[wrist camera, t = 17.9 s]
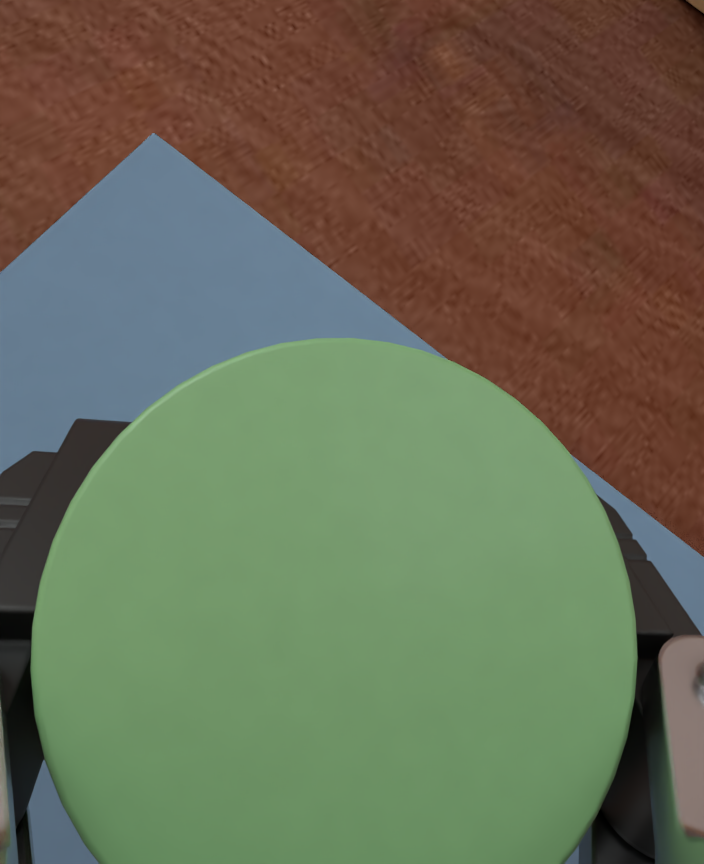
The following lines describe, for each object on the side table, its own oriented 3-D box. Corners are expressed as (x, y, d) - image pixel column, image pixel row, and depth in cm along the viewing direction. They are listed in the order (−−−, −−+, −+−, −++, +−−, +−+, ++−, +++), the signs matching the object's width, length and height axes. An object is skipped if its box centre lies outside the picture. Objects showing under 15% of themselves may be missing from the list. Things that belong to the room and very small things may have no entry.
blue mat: (773, 620, 17) (788, 621, 16) (470, 1225, 13) (479, 1249, 12) (155, 143, 17) (153, 130, 17) (-317, 580, 13) (-339, 580, 13)
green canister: (455, 582, 15) (735, 564, 6) (311, 795, 14) (425, 1149, 5) (271, 437, 15) (304, 231, 7) (108, 632, 14) (-130, 696, 5)
